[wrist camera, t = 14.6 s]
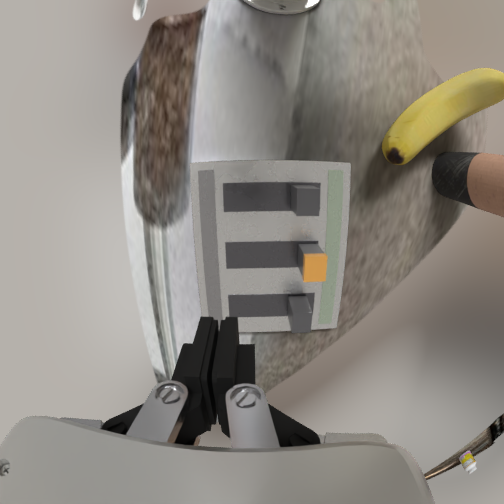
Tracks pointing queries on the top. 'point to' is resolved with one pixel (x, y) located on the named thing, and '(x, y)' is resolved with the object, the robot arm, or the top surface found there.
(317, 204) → the block
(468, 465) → the supplement bottle
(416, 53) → the top surface
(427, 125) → the banana
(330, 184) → the panel
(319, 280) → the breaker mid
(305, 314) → the breaker far
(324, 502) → the robot arm
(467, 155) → the travel mug
